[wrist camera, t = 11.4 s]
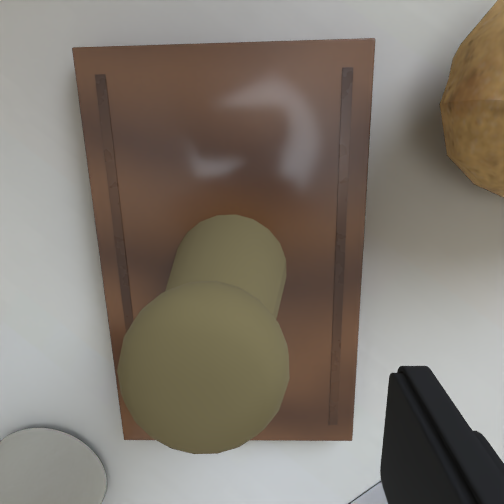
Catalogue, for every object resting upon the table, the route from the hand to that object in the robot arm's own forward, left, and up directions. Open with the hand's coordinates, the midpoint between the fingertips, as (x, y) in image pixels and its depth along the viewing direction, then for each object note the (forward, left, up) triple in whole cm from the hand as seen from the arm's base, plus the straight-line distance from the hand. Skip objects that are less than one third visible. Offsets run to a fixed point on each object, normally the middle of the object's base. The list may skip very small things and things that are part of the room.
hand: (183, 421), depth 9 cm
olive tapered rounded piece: (+1, 0, -13) cm, 13 cm away
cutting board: (+1, 0, -14) cm, 14 cm away
